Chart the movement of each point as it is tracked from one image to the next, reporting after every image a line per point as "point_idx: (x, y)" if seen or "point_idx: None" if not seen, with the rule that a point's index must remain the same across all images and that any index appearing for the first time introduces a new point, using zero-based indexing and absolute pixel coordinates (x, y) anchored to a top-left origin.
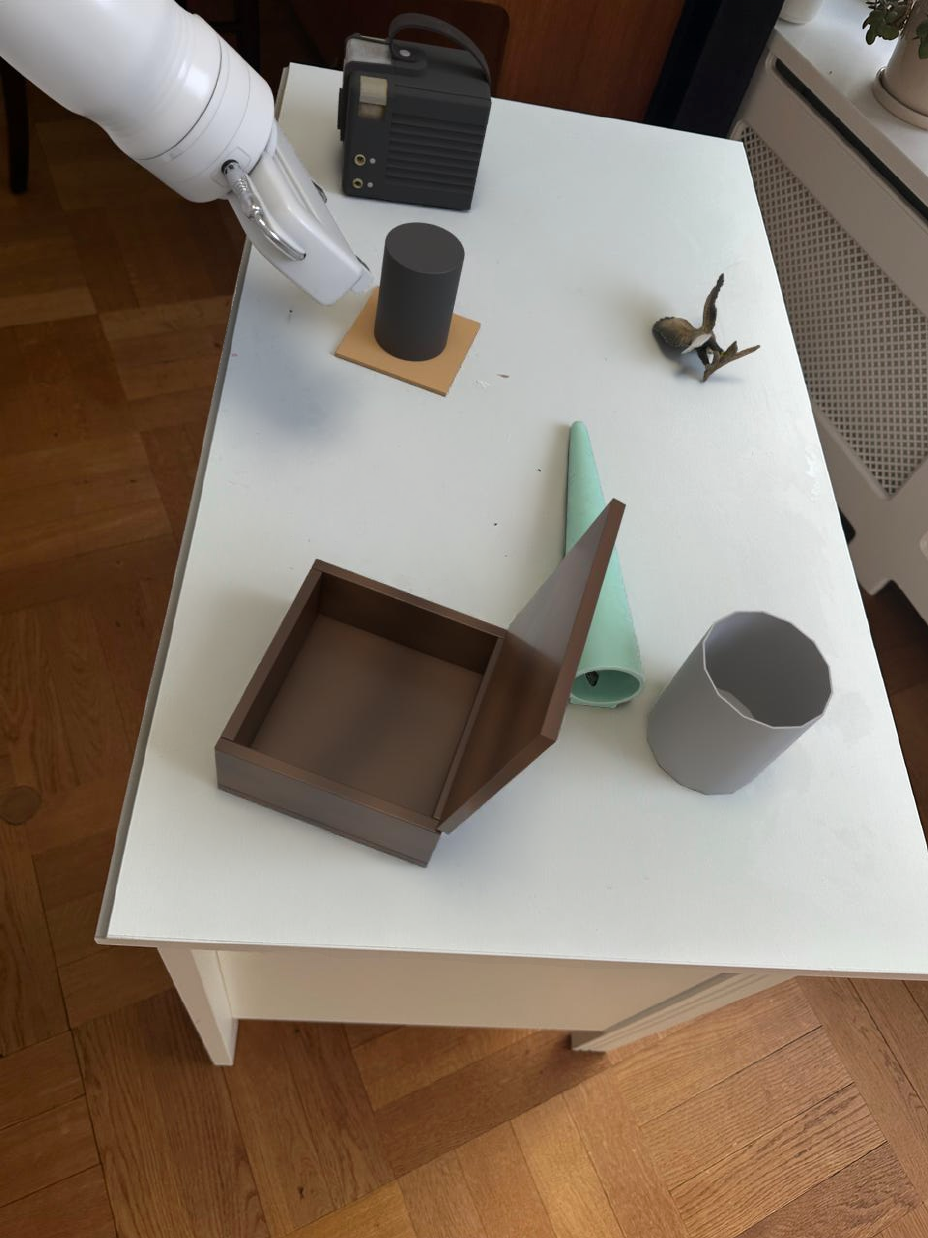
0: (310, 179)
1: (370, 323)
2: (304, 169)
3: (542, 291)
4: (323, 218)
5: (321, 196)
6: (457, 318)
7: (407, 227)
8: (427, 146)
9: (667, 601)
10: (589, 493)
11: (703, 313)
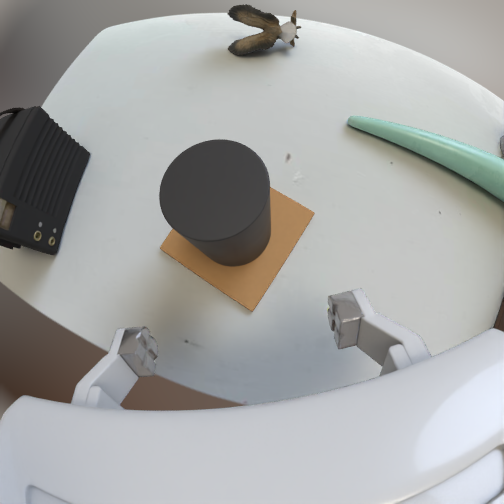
0: (217, 422)
1: (212, 266)
2: (182, 427)
3: (186, 110)
4: (462, 425)
5: (143, 337)
6: None
7: (169, 202)
8: (43, 171)
9: (467, 134)
10: (438, 140)
11: (258, 23)
